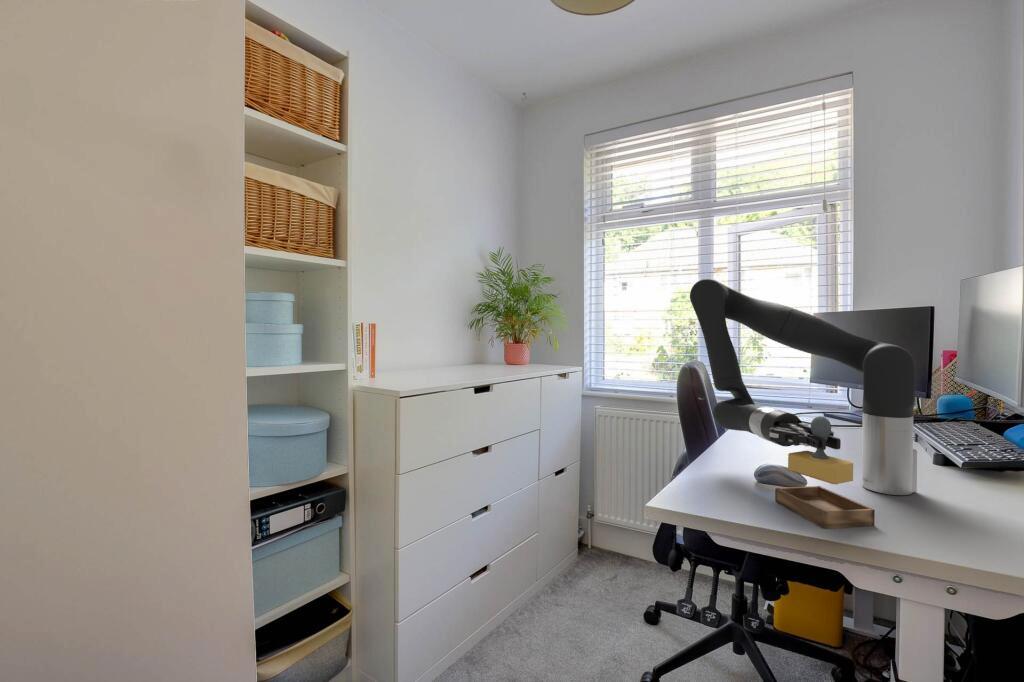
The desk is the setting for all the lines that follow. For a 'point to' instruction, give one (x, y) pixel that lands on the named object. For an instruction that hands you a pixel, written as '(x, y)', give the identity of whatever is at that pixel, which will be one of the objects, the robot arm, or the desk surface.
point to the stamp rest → (825, 507)
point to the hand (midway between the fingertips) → (831, 444)
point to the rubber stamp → (821, 459)
